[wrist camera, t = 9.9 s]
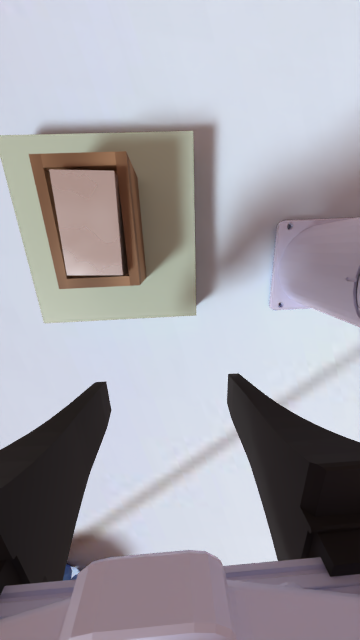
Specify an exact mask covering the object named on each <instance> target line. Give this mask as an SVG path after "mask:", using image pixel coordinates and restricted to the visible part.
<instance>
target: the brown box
mask: <svg viewBox="0 0 360 640" xmlns="http://www.w3.org/2000/svg"><path fill="white" fill-rule="evenodd" d="M29 158H30V163H31V167H32V172H33V176H34V181H35V185H36V189H37V194H38V198H39V203H40V207H41V211H42V216H43V220H44V225H45V229H46V233H47V238H48V242H49V247H50V251H51V256H52V260H53V264H54V269H55V273H56V278H57V282H58V286H59V289H74V288H95V287H115V286H136V285H141V283H142V282H143V281H144V280H145V279H146V278H147V276H146V265H145V254H144V243H143V232H142V221H141V210H140V199H139V188H138V177H137V175H136V173H135V170H134V168H133V166H132V164H131V161H130V159H129V157H128V154H127V152H126V151H118V152H82V153H46V154H29ZM49 169H54V170H105V171H115V173H116V174H117V176H118V185H119V194H120V202H121V211H122V219H123V228H124V236H125V245H126V256H127V269H128V273H126V274H124V275H67V273H66V267H65V261H64V255H63V249H62V243H61V237H60V232H59V226H58V220H57V214H56V208H55V202H54V196H53V190H52V184H51V178H50V172H49Z"/></svg>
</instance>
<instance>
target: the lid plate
mask: <svg viewBox="0 0 360 640" xmlns="http://www.w3.org/2000/svg"><path fill="white" fill-rule="evenodd" d="M49 172H50V178H51V184H52V190H53V196H54V202H55V208H56V214H57V220H58V226H59V232H60V237H61V243H62V249H63V255H64V261H65V267H66V273H67V275H124V274H126V273H128V269H127V256H126V245H125V236H124V228H123V219H122V211H121V202H120V194H119V185H118V176H117V174H116V173H115V171H105V170H54V169H49Z"/></svg>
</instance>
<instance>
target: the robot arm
mask: <svg viewBox="0 0 360 640" xmlns="http://www.w3.org/2000/svg"><path fill="white" fill-rule="evenodd" d="M288 224H290V226H291V227H290V229H289V230H288V229H287V225H288ZM279 303H281V306H279V307H278V304H279ZM269 307H270V308H271V309H273V310H287V309H307V308H313V309H315V310H318V311H320V312H323V313H325V314H328V315H330V316H333V317H335V318H338V319H340V320H343V321H345V322H348V323H350V324H353V325H355V326H358V327H360V217H359V218H335V219H309V220H285V221H281V222H279V223H278V225H277V230H276V240H275V251H274V261H273V271H272V281H271V291H270V301H269ZM227 404H228V408H229V411H230V415H231V418H232V421H233V423H234V426H235V428H236V431H237V433H238V435H239V438H240V440H241V443H242V445H243V447H244V450H245V452H246V455H247V457H248V460H249V462H250V465H251V468H252V471H253V475H254V478H255V481H256V484H257V488H258V491H259V494H260V498H261V501H262V504H263V508H264V511H265V515H266V518H267V522H268V525H269V529H270V533H271V536H272V540H273V544H274V548H275V551H276V555H277V559H278V561H273V562H262V563H251V564H240V565H229V566H223V565H222V563H221V561H220V560H219V559H218V558H217V557H215V556H213V555H211V554H210V553H208V552H206V551H193V550H185V551H174V552H163V553H152V554H140V555H129V556H118V557H108V558H104V559H100V560H96V561H93V562H91V563H90V564H89V565H88V566H86V567H85V568H84V569H83V570H82V571H81V572H79V573H78V576H77V579H76V580H65V581H63V577H64V572H65V568H66V563H67V559H68V554H69V550H70V546H71V542H72V538H73V533H74V529H75V525H76V521H77V517H78V514H79V510H80V506H81V502H82V498H83V495H84V491H85V488H86V484H87V481H88V477H89V474H90V471H91V468H92V466H93V463H94V461H95V458H96V455H97V453H98V450H99V448H100V445H101V442H102V440H103V437H104V434H105V432H106V429H107V426H108V422H109V418H110V413H111V406H110V401H109V395H108V390H107V384H106V382H95V383H94V384H93V385H92V386H90V387H89V388H88V389H87V390H86V391H84V392H83V393H82V394H81V395H80V396H79V397H77V398H76V399H75V400H74V401H73V402H71V403H70V404H69V405H68V406H66V407H65V408H64V409H63V410H61V411H60V412H59V413H57V414H56V415H55V416H54V417H52V418H51V419H49V420H48V421H47V422H45V423H44V424H42V425H41V426H39V427H38V428H36V429H35V430H33V431H32V432H30V433H29V434H27V435H25V436H24V437H22V438H20V439H18V440H17V441H15V442H13V443H12V444H10V445H8V446H7V447H5V448H3V449H1V450H0V640H360V442H357V441H354V440H351V439H348V438H346V437H343V436H341V435H338V434H336V433H333V432H331V431H329V430H326V429H324V428H322V427H320V426H318V425H315V424H313V423H311V422H309V421H307V420H305V419H303V418H302V417H300V416H298V415H296V414H294V413H293V412H291V411H289V410H287V409H286V408H284V407H283V406H281V405H279V404H278V403H276V402H275V401H273V400H272V399H271V398H269V397H268V396H266V395H265V394H264V393H262V392H261V391H260V390H258V389H257V388H256V387H255V386H253V385H252V384H251V383H250V382H248V381H247V380H246V379H245V378H243V377H242V376H241V375H240V374H228V394H227Z"/></svg>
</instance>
